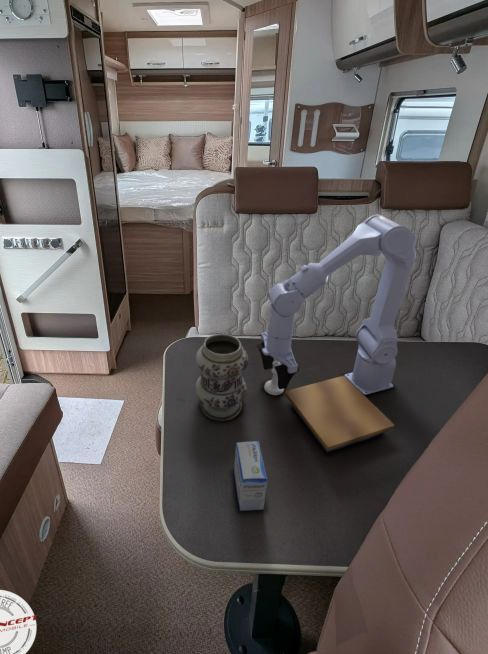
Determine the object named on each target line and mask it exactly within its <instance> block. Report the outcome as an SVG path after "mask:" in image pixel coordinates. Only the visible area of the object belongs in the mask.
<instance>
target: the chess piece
mask: <svg viewBox="0 0 488 654" xmlns="http://www.w3.org/2000/svg"><path fill="white" fill-rule="evenodd" d="M279 365H282V363H281V362H280V361H278V360H276V359H275V358H274V362H273V367H272V369H271V373H272V378H271V379H270V380H267V381H266V382H265V383H264V386H263V388H264V391H265V392H266V393H267V394H269V395H272V396H278V395H281V394H283V392H285V388H284V389H279V388H278V377H277V372H276V370H275V366H279Z"/></svg>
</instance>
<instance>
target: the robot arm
mask: <svg viewBox="0 0 488 654" xmlns="http://www.w3.org/2000/svg"><path fill="white" fill-rule="evenodd" d="M415 241H416V235H415V234H414V233H413V232H412V231H411V230H410V229H409V228H408V227H407V226H405V225H401V224H399V223H397V222H395V221H393V220H391V219H390V218H388V217H387V216H385V215H382V214H373V215H371V216H369V217H368V218H367V219H365V220H364V222H361V223H359V224H358V225H357V226H356V228H355V230H354V231H353V233H352V234H351V235H350V236H349V237H348V238H346V239H345V240H344V241H343V242H342V243H340V244H339V245H338V246H336V248H335V249H334V250H332V251H331V252H330V253H329V254H328V255H326V256H325V257H324V258H323V259H322V260H320V261H319V262H309V263H308V264H303V265H302V266H301V267H300V270H299V271H297V272H296V273H295V274H293V275H292V276H291V277H290V278H288V279H285V280H284V281H282V282H279V283H276V284H274V285H273V286H272V287H271V288H270V291H269V292H267V297H268V300H269V301H270V302H271V303H270V310H269V316H268V317H269V318H268V327H267V331H264V332H261V333H260V340H261V341H262V342H259V343H257V345H256V347H257V349H258V352H259V354H260V358H261V362H262V367H263V370H264V371H267V370H272V369H273V368H274V367H273V362H274V358H275V359H276V360H278V361H279V362H280V363H281V365H279V366H275V370H276V372H277V377H278V388H279V389H284V390H285V389H287V388H288V386H289V384H290V382H291V380H292V379H293V377H294V376H295V375H296V374H297V373H298V372H299V371H300V366H299V365H298V363H297V362H296V359H295V356H294V353H293V350H292V342H293V341H292V340H293V333H294V332H293V331H294V325H295V320H296V319H295V318H296V317H295V316H296V314H297V313H298V312H300V310H301V307H302V304H303V303H304V302H305V300H306V299H308V298H309V297H310V296H311V295H314V293H315V292H317V291H318V290H320V289H322V288H323V287H324V286H325V285H327V283H328V280H329V276H330V275H332V274H333V273H334V272H337V271H338V270H339V269H341V268H343V267H344V266H346V265H347V264H349V263H350V262H352V261H353V260H355V259H356V258H358V257H360V256H362V255H363V256H375V257H379V256H381V254H382V255H383V256H384V257H385V263H384V266H383V269H382V273H381V277H380V280H379V284H378V288H377V291H376V294H375V298H374V302H373V305H372V309H371V313H370V316H369V317H367V318H364V319H363V320H362V322H361V325H360V326H359V327H358V328H357V330H356V332H355V340H356V341H357V343H358V345H357V348H358V349H357V352H356V357H355V361H354V366H353V370H352V372H349V373H345V374H344V375H343V376H344V377H345V378H346V379H347V380H348V381H350V382H351V383H352V384H353V385H354V386H355V387H356V388H357V389H358V390H359V391H360V392H361V393H362V394H363V395H364V396H367V395H370V394H374V393H378V392H381V391H385V390H389V389H391V388H394V384H393V383H392V381H393V376H394V374H395V371H396V367H397V360H396V357H397V355H398V352H399V349H398V341H399V337H398V334H397V331H396V328H395V323H396V320H397V317H398V314H399V311H400V308H401V304H402V301H403V298H404V295H405V292H406V289H407V285H408V283H409V280H410V277H411V272H412V270H413V267H414V264H415V261H416V257H417V253H416V248H415Z"/></svg>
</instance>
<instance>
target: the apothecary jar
mask: <svg viewBox="0 0 488 654" xmlns="http://www.w3.org/2000/svg"><path fill="white" fill-rule="evenodd" d="M195 362H196V365H197V367H198V369H199V370H200V375H199V377H198V378H197V380H196V383H195V393H196V395H197V397H198V399H199V400H200V409H201V411H202V413H203V414H204V416H206V417H207V418H209V419H211V420H214V421H218V422H219V421H220V422H223V421H229V420H232V419H235V417H237V416H238V415H239V414H240V412H241V410H242V409H243V408H242V406H243V404H242V401H243V400H244V399H245V398H246V395H247V393H248V384H247V381H246V380H245V378H244V377H243V372H244V371H245V370H246V368H247V367H248V364H249V355H248V352H247V350H246V349H245V348H244V347H243V346H242V341H241V340H240V339H239V338H237V337H236V336H234V335H232V334H227V333H217V334H211V335H210V336H207V337H206V338H205V339H204V341H203V344H202V345H201V346H200V347H199V348H198V350H197V352H196V355H195Z"/></svg>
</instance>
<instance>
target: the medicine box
mask: <svg viewBox="0 0 488 654" xmlns="http://www.w3.org/2000/svg"><path fill="white" fill-rule="evenodd" d="M233 467H234V468H233V475H234V482H235V488H236V494H237V500H238V507H239V511H243V512H245V511H261V510H262V511H263V510H264V508H265V502H266V494H267V486H268V477H267V473H266V468H265V463H264V460H263V455H262V451H261V447H260V443H259V441H258V440H255V441H253V440H252V441H239V442H236V444H235V455H234V465H233Z"/></svg>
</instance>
